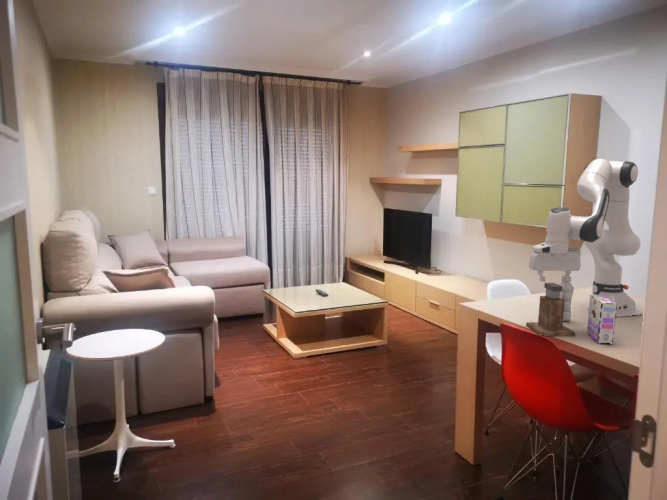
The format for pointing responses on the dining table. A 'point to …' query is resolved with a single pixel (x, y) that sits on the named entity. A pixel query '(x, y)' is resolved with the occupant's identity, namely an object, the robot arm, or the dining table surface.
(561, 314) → the stand
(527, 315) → the dining table surface
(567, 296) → the plastic bottle
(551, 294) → the column
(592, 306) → the candy box
